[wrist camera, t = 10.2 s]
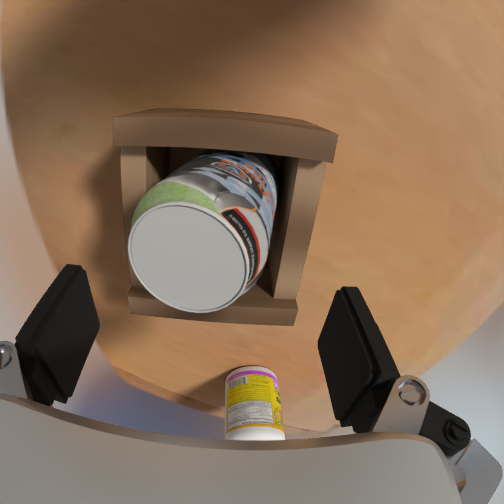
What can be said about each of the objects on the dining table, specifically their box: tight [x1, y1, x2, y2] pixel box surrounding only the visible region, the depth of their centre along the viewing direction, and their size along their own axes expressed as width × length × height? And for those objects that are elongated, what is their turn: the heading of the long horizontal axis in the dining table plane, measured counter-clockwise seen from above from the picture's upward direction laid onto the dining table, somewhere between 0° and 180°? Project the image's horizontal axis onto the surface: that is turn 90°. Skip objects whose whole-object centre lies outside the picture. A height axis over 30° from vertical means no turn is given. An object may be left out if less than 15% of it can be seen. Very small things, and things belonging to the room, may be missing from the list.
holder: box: [113, 109, 338, 326], centre depth 19 cm, size 12×11×8 cm
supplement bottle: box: [225, 366, 285, 440], centre depth 29 cm, size 7×7×13 cm
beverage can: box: [128, 149, 279, 313], centre depth 16 cm, size 6×7×12 cm
